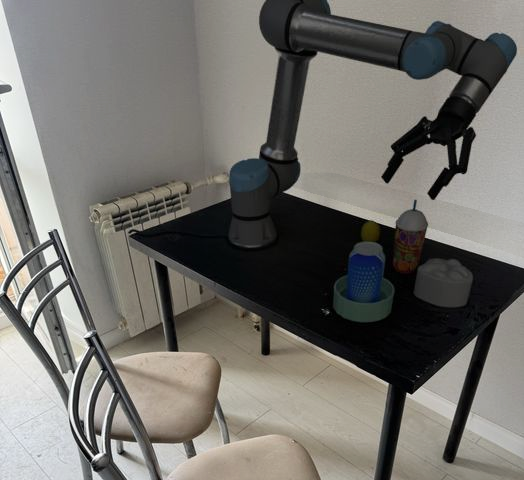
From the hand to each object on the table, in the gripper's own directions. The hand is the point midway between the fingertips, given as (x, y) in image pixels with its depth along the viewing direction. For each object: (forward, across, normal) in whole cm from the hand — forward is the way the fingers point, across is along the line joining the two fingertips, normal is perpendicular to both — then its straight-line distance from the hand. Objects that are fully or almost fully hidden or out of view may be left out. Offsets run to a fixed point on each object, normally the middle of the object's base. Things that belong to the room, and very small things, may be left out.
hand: (406, 188), depth 114 cm
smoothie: (+11, +6, -28) cm, 31 cm away
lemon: (+9, +23, -30) cm, 39 cm away
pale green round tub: (+27, 0, -12) cm, 30 cm away
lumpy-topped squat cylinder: (+13, -9, -26) cm, 31 cm away
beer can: (+27, 0, -12) cm, 30 cm away
